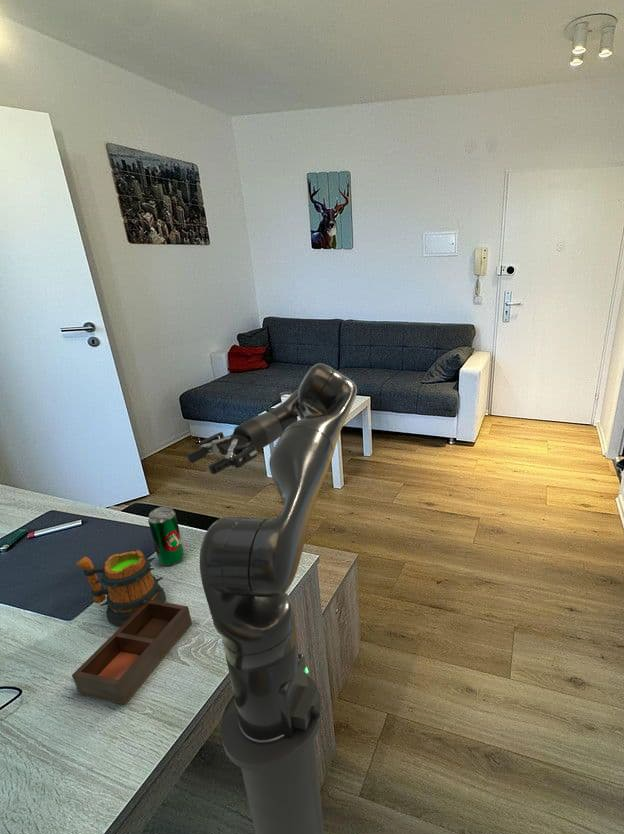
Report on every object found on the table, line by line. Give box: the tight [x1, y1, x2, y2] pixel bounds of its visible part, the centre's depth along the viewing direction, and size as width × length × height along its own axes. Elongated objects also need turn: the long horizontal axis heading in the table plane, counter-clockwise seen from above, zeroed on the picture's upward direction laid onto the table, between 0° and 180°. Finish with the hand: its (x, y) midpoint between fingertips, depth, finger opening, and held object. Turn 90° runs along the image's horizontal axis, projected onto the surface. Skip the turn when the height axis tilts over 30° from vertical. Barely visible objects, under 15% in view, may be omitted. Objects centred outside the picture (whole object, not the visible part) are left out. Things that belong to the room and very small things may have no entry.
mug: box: [75, 549, 167, 628], centre depth 79 cm, size 13×10×12 cm
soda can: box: [147, 506, 185, 566], centre depth 92 cm, size 5×5×12 cm
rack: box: [71, 599, 193, 706], centre depth 71 cm, size 8×15×4 cm, turn 169°
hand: (199, 464), depth 95 cm, fingers open, 8 cm apart
